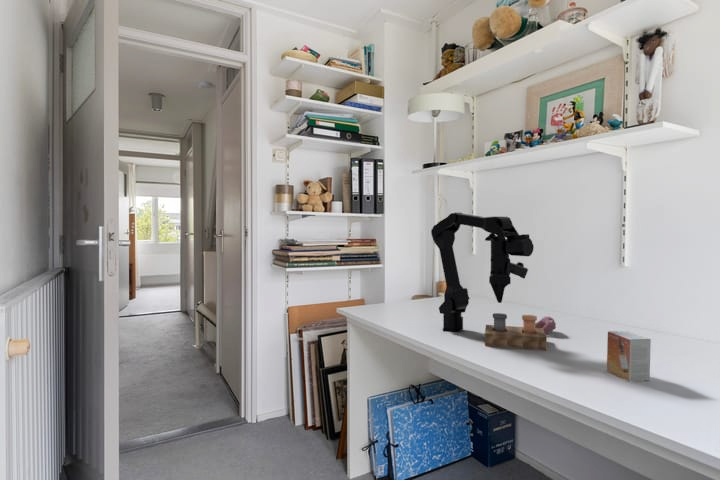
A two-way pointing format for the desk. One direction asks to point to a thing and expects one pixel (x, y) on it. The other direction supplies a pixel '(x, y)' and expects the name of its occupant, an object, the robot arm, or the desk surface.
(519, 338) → the walnut block
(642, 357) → the small box
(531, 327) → the terracotta plug
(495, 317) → the grey plug
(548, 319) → the video game controller
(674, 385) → the desk surface
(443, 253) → the robot arm
